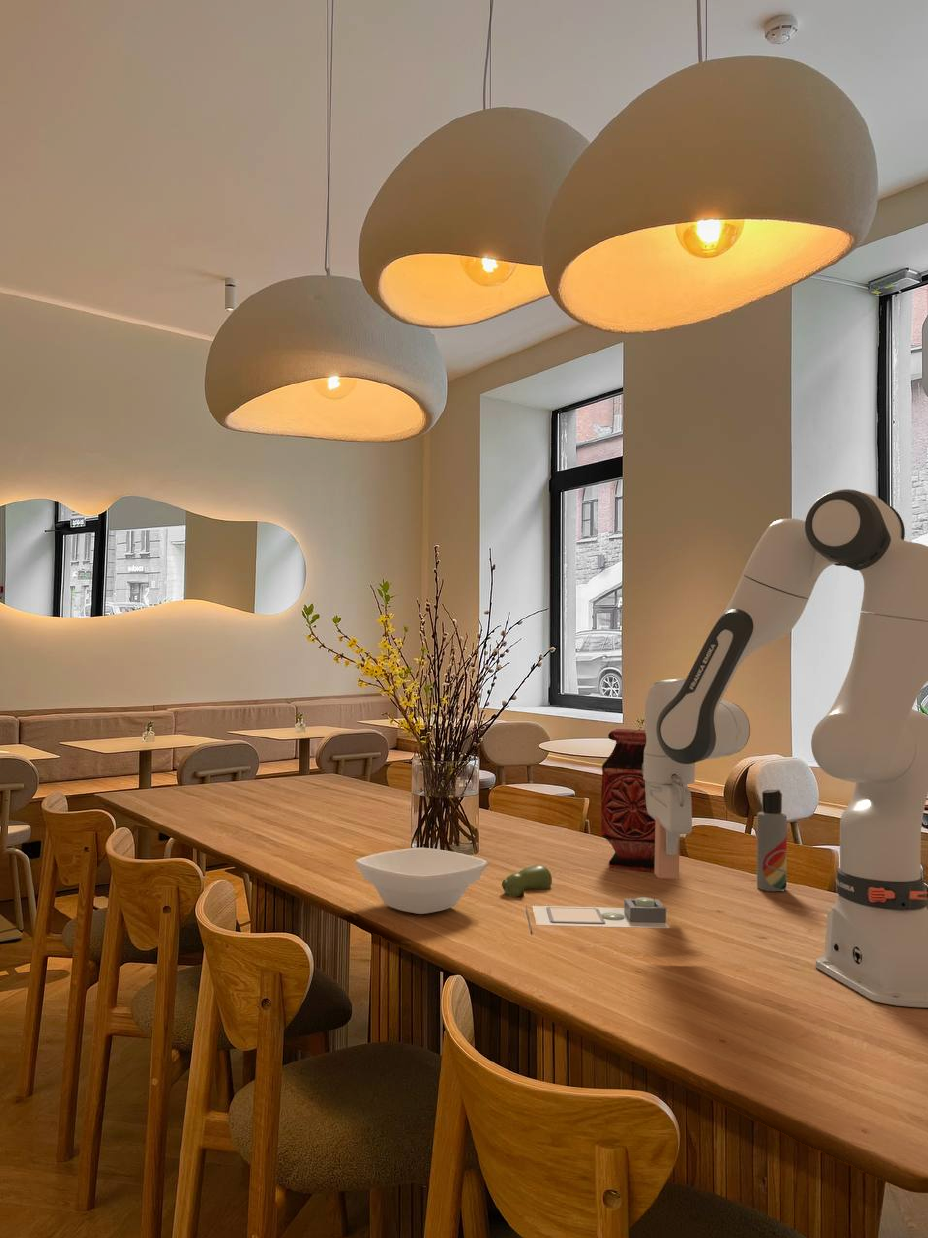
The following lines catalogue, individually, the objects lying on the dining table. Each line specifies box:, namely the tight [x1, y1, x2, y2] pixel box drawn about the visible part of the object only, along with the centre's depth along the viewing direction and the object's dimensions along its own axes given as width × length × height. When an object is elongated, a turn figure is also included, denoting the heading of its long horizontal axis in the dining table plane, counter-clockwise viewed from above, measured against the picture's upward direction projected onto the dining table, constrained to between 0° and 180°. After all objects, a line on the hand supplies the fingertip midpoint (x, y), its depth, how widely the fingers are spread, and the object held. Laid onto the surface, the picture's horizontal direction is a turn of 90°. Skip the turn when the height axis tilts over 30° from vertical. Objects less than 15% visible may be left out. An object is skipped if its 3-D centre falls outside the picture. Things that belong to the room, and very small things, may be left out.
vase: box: [600, 728, 655, 873], centre depth 205 cm, size 14×14×30 cm
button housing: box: [623, 898, 667, 924], centre depth 157 cm, size 6×6×2 cm
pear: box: [501, 864, 553, 898], centre depth 177 cm, size 6×5×10 cm
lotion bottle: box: [756, 789, 788, 892], centre depth 185 cm, size 6×6×20 cm
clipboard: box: [525, 905, 670, 935], centre depth 157 cm, size 14×24×1 cm, turn 90°
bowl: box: [354, 847, 489, 915], centre depth 165 cm, size 21×21×9 cm
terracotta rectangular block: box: [653, 817, 681, 879], centre depth 159 cm, size 4×4×12 cm
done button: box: [634, 897, 654, 907], centre depth 157 cm, size 3×3×2 cm
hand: (667, 850), depth 159 cm, fingers closed on terracotta rectangular block, 3 cm apart
